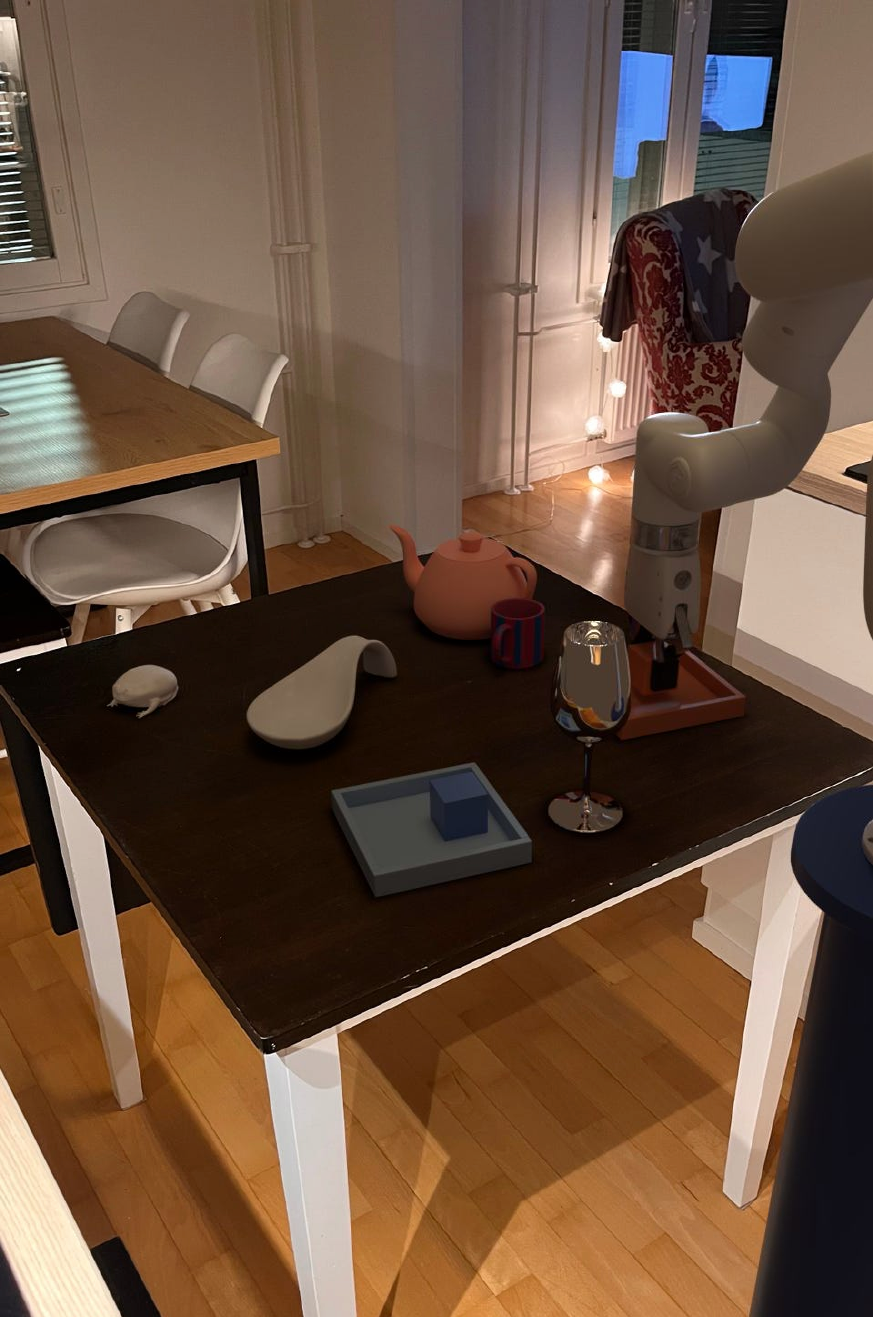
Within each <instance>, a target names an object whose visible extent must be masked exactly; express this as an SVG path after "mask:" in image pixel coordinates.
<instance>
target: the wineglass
mask: <svg viewBox="0 0 873 1317" xmlns="http://www.w3.org/2000/svg"><path fill="white" fill-rule="evenodd" d="M625 636H626V635H625V633H624V631H623V629H621V628H620V627H619V626H617V625H615V624H613V623H609V622H604V621H597V620H596V621H595V620H590V621H580V622H576V623H574V624H571V625H570V626H568V627H567V628H565V630H564V632H563V636H562V640H561V643H560V646H559V650H558V653H557V654H558V655H557V658H556V662H555V666H554V669H553V674H552V678H551V679H552V680H551V687H550V696H549V706H550V713H551V715H552V718H553V721H554V723H555V725H557V727H558V728H559V729H560V730H559V731H561V732H562V733H563V734H564V735H566V736H567V737H569V738H570V739H571V740H573V741H575V742H578V743H581V744H582V747H583V782H582V790H577V791H576V790H575V791H570V792H565V793H563V794H561V795H558V796H557V797H556V798H554V799H552V801H551V802H550V803H549V805H548V808H547V814H548V817H549V819H550V820H551V821H552V822H553V823H554V824H555V825H556V826H558V827H560V828H562V829H563V830H566V831H568V832H569V831H570V832H573V833H578V834H598V833H603V832H606V831H609V830H611V829H613V828H615V827H616V826H617V825H619V824H620V823H621V821H622V820H623V817H624V809H623V808H622V806H621V804H620V803H619V802H618V801H617V800H615V799H614V798H612V797H610V796H609V795H606V794H604V793H601V792H597V791H591V776H592V760H593V752H594V747H595V745H596V744H600V743H604V742H606V741H607V740H610V739H611V738H613V737H615V736H617V735H616V734H617V733H618V732H619V731H620V730H621V729H622V728H623V726H624V725H625V724H626V722H627V720H628V718H629V715H630V713H631V707H632V682H631V673H630V666H629V659H628V653H627V652H628V647H627V643H626V637H625Z"/></svg>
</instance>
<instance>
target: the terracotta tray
mask: <svg viewBox="0 0 873 1317" xmlns="http://www.w3.org/2000/svg"><path fill="white" fill-rule="evenodd" d="M672 644H673V643H671V644H669V645H672ZM627 653H628V651H627ZM746 700H747V696H746V695H744V694H743V693H741V691H740V690H738V689H737V688H736V687H734V686H733V685H732V684H731V683H729V682H728V681H727V680H726V679H724V678H723V677H722V676H721V675H720V674H718V673H717V672H716V671H715V670H713V669H712V668H711V667H710V666H708V665H707V664H706V663H705V662H703V660H701V659H700V658H699V657H698V656H696V655H695V654H694V653H693V652H691V650H689V651H687V652H685V653H684V654H683V655H682V658H681V659H680V670H679V681H678V689H676V690H671V691H666V692H660V693H655V694H650V695H644V696H643V695H642V694H641V693H640V692H639V691H638V690H637V689H636V688H635V687H634V686H633V685H632V707H631V713H630V715H629V718H628V720H627V722H626V724H625V725H624V726H623V728H622V729H621V730H620V731H619V732H618V733H617V734H616V735H615V736H617V737H618V738H619V739H620V741H624V740H629V739H635V738H639V737H640V738H641V737H645V736H649V735H656V734H660V733H664V732H671V731H675V730H680V729H685V728H690V727H695V726H699V725H704V724H705V725H706V724H710V723H715V722H718V721H725V720H730V719H735V718H739V717H744V716H745V708H746Z"/></svg>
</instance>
